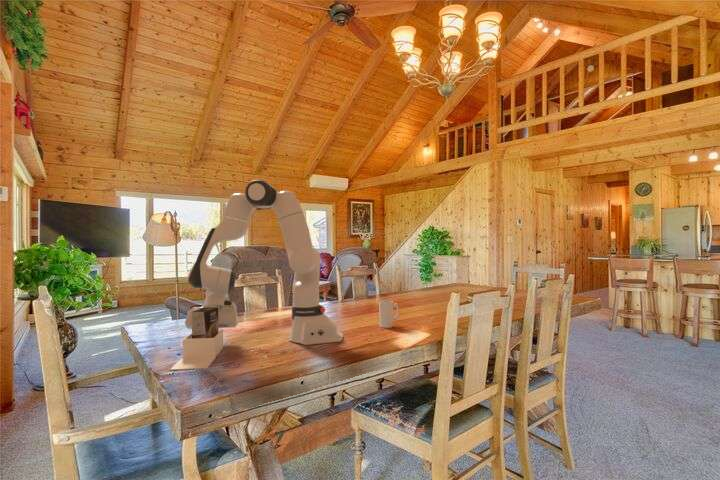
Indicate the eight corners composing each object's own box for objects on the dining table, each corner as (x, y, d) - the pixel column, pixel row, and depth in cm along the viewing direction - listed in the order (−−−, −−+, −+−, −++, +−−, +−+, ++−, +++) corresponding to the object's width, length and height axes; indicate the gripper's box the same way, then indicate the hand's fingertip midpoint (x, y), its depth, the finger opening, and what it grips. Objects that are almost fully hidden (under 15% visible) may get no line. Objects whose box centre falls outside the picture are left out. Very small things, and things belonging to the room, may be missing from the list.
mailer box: (224, 347, 155) (223, 329, 155) (207, 368, 130) (206, 347, 130) (193, 348, 153) (192, 330, 153) (169, 370, 129) (169, 349, 129)
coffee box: (207, 355, 145) (207, 311, 144) (191, 354, 145) (190, 311, 145) (219, 348, 154) (219, 307, 153) (204, 347, 154) (203, 306, 154)
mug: (381, 328, 183) (381, 302, 182) (377, 325, 189) (377, 300, 189) (401, 327, 185) (401, 301, 185) (396, 324, 192) (396, 299, 192)
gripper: (187, 303, 161) (179, 333, 151) (238, 302, 163) (233, 331, 154) (190, 312, 166) (183, 341, 156) (240, 310, 168) (236, 339, 158)
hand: (208, 336), depth 155 cm, fingers closed
